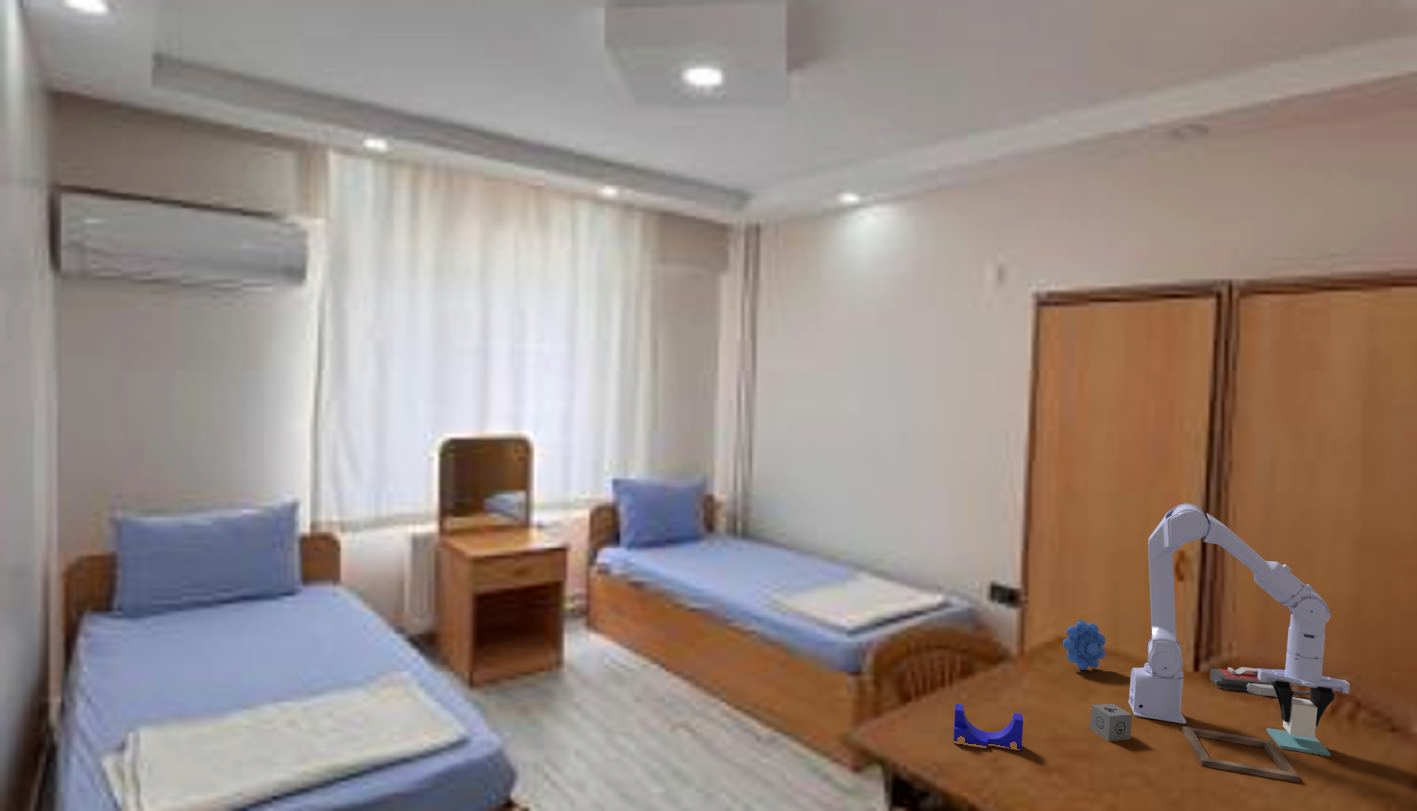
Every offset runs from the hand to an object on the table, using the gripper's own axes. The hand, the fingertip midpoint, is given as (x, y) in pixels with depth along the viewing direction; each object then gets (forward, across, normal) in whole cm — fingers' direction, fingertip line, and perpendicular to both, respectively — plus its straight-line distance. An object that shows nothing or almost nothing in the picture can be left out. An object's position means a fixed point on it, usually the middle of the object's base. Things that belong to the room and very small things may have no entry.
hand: (1299, 722), depth 157 cm
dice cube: (+4, -35, -11) cm, 37 cm away
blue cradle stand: (+4, -58, -26) cm, 63 cm away
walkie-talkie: (+5, +2, +30) cm, 30 cm away
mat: (+4, 0, 0) cm, 4 cm away
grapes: (+4, -35, +24) cm, 43 cm away
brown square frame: (+4, -13, -11) cm, 18 cm away
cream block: (+2, 0, 0) cm, 2 cm away
